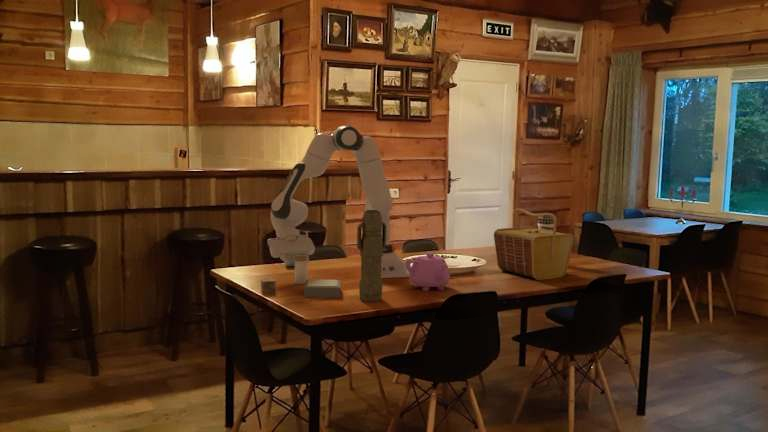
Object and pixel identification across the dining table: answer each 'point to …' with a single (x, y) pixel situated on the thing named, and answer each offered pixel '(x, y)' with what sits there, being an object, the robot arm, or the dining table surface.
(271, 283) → the walnut cube
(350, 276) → the dining table surface
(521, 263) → the picnic basket
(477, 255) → the dining table surface
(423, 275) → the purple piggy bank
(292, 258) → the ceramic mug
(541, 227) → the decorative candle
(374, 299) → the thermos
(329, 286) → the plinth
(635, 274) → the dining table surface
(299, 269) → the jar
